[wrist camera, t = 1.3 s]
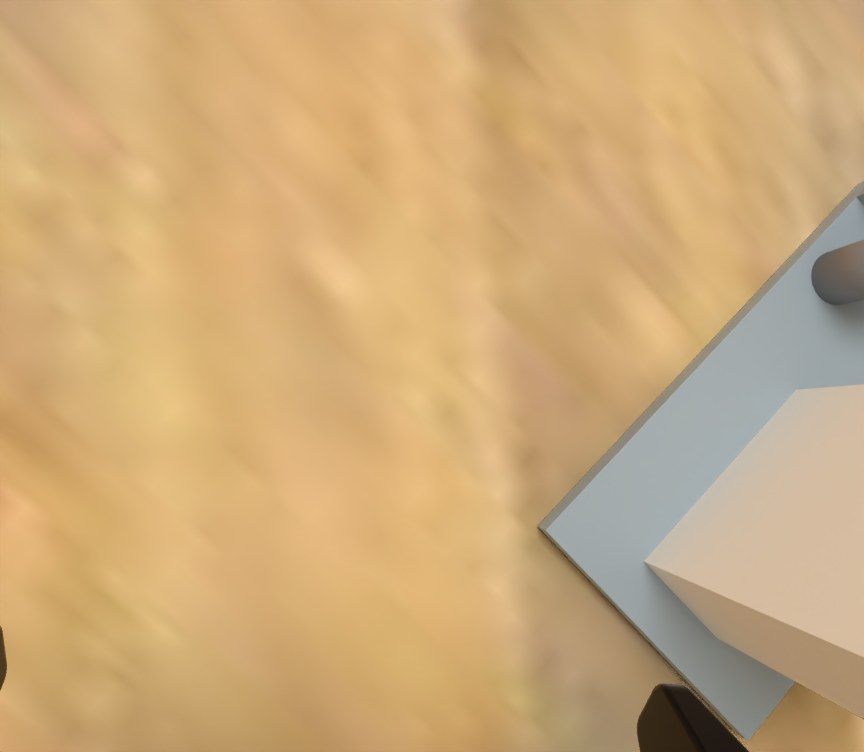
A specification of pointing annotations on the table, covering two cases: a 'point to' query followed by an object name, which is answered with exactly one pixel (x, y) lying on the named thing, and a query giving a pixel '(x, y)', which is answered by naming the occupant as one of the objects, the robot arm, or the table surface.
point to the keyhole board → (717, 454)
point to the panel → (784, 546)
